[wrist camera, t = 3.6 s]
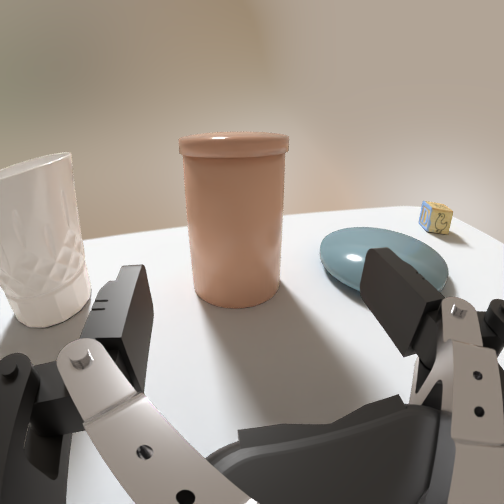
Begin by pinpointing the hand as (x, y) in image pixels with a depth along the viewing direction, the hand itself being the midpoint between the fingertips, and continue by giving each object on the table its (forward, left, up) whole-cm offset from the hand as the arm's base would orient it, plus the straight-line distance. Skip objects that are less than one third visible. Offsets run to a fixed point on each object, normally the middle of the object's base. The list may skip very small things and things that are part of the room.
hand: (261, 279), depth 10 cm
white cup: (-14, +8, -6) cm, 17 cm away
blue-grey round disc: (+12, +9, -6) cm, 16 cm away
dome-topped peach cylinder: (0, +9, -6) cm, 11 cm away
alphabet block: (+24, +16, -6) cm, 30 cm away
